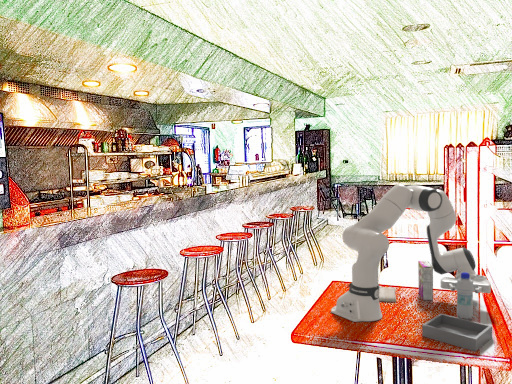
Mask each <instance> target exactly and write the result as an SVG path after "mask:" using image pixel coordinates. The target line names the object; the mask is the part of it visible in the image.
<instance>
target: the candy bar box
mask: <svg viewBox="0 0 512 384" xmlns="http://www.w3.org/2000/svg"><path fill="white" fill-rule="evenodd" d="M417 262H418V264H417V269H418V271H417V273H418V278H417V279H418V280H417V281H418V294H419V295H420V297H421V299H422V301H433V300H434V284H433V283H434V276H433V275H434V269H433V267H432V263H430V261H428V260H418V261H417Z"/></svg>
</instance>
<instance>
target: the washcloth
mask: <svg viewBox="0 0 512 384" xmlns="http://www.w3.org/2000/svg"><path fill="white" fill-rule="evenodd" d="M379 302H384V303H385V302H387V303H395V302H396V303H397V296H396V288H395V287H392V286H389V287H383V286H380V285H379Z"/></svg>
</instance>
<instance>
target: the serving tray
mask: <svg viewBox="0 0 512 384" xmlns="http://www.w3.org/2000/svg"><path fill="white" fill-rule="evenodd" d="M421 326H422V332H421V335H422V337H424V338H427V339H431V340H435V341H438V342H442V343H445V344H449V345H453V346H456V347H459V348H462V349H466V350H470V351H473V352H477V351H478V350H479V349H481V348H482V347H483V346H484V345H485V344H487V342H489V341H490V340H491V339H492V338H493V326H492V325H490V324H485V323H481V322H478V321H473V320H468V319H467V320H466V319H465V318H463V319H461V318H458V317H457V316H453V315H448V314H444V313H439V314H437V315H436V316H434V317H432V318H431V319H429V320H428V321H426V322H424V323H423V324H422V325H421Z"/></svg>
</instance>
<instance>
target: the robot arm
mask: <svg viewBox="0 0 512 384" xmlns="http://www.w3.org/2000/svg"><path fill="white" fill-rule="evenodd" d="M407 208H408V209H411V210H415V211H420V212H425V213H427V214H428V218H429V224H428V225H426V235H427V241H428V246H429V251H430V256H431V257H430V258H431V260H430V261H431V263H430V264H431V266H432V267H433V272H435V273H437V274H439V275H445V274H448V273H452V272H455V271H456V273H455V277H448V276H447V277H446V276H445V277H442V278H441V279H440V288H441V289H442V290H443V289H444V290H451V292H454V291H457V290H456V289H457V287H456V286H457V280H458V279H459V278H461V273H463V272H466V273H469V275H470V278H469V279H471V280H472V281H473V286H474V292H473V293H475V294H479V293H483V294H490V293H491V290H492V285H491V281H490V280H488V278H487V277H488V276H486V275H485V276H484V275H481V274H477V273H476V270H475V269H476V261H475V258H474V255H473V254H472V252H471V251H470V250H468V248H466V247H461V248H460V247H459V248H456V249H451V250H447V251H442V252H441V251H440V248H439V244H438V239H439V238H440V237H441V236H442V235H444V234H445V233H447V232H448V231H450V230H451V229H452V228H453V227H454V225H455V224H456V223H457V222H456V221H457V216H456V212H455V210H454V206H453V205H452V202H451V200H450V198H449V197H448V196H447V194H446V192H445V191H444V190H442V189H435V188H433V187H427V186H423V185H419V184H418V185H417V184H416V185H415V184H414V185H412V184H406V185H405V184H402V183H401V184H400V183H399V184H395V185H394V186H393V187H391V188H390V189H388V191H387V192H386V193H385V194H384V195H383V196H382V197H381V199H380V200H379V201H378V202H377V204H376V205H375V206H374V207H373V208H372V210H370V211H369V212H368V213H367V214H366V215H365V216H364V217H362V218H361V219H360V220H359V221H357V222H356V223H354V224H351V225H349V226H347V227H346V228H345V229H344V230H343V233H342V240H343V244H345V245H346V246H347V247H348V248H349V249H351V250H354V251H356V252H357V258H356V261H355V262H354V263H353V264H352V267H351V273H352V274H351V283H349V284H346V286H347V287H346V288H349V289H348V290H347V291H346V292H345V293H343V294H342V295H340V296H339V297H338V298H337V300H336V303H335V304H336V305H334V306H333V307H332V308H331V309H330V310H331V311H330V313H331V314H333V315H334V314H335V315H337V316H338V317H342V318H344V319H346V320H349V321H351V322H375V321H379V320H381V319H382V318H383V314H382V310H381V305H380V301H379V286H380V284H379V269H380V268H379V267H380V262H381V260H382V257H383V256H384V255H385V254H386V253H387V252H388V250H389V247H390V241H389V239H388V237H387V236H386V235H385V234H384V233H383V232H385V231H387V230H390V229H391V228H393V227H394V225H395V224H396V222H397V221H398V220H400V218H401V216H402V215H403V214H404V212H405V211H406V209H407Z"/></svg>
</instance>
